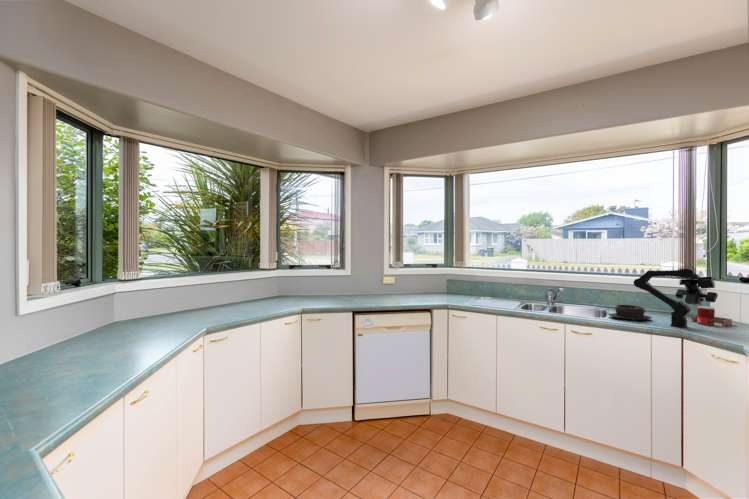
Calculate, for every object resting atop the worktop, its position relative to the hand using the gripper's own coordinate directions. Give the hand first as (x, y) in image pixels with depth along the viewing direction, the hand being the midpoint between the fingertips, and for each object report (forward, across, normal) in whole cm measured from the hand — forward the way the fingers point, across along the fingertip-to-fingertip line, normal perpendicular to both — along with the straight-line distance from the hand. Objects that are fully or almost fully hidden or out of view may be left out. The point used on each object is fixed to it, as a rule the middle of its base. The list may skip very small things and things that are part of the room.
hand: (700, 304), depth 216 cm
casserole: (-3, -30, -22) cm, 38 cm away
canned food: (+15, 0, -4) cm, 16 cm away
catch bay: (+20, 0, +1) cm, 21 cm away
